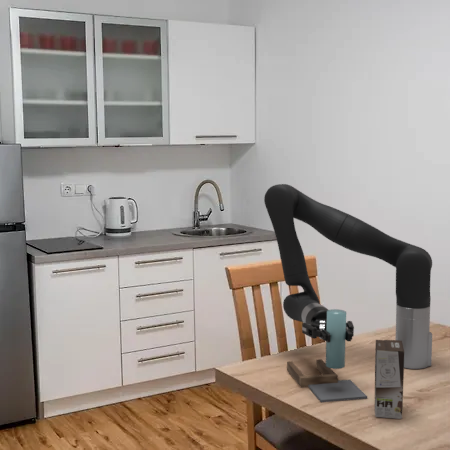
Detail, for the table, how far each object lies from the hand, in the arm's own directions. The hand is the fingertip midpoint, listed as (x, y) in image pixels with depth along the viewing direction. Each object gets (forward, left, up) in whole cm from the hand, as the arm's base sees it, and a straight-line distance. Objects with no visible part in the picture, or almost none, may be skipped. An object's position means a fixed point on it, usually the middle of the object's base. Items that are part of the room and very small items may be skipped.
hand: (339, 338), depth 170 cm
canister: (0, -3, -8) cm, 8 cm away
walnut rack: (+3, -15, -15) cm, 21 cm away
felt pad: (0, -3, -15) cm, 15 cm away
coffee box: (-8, +11, -15) cm, 21 cm away
